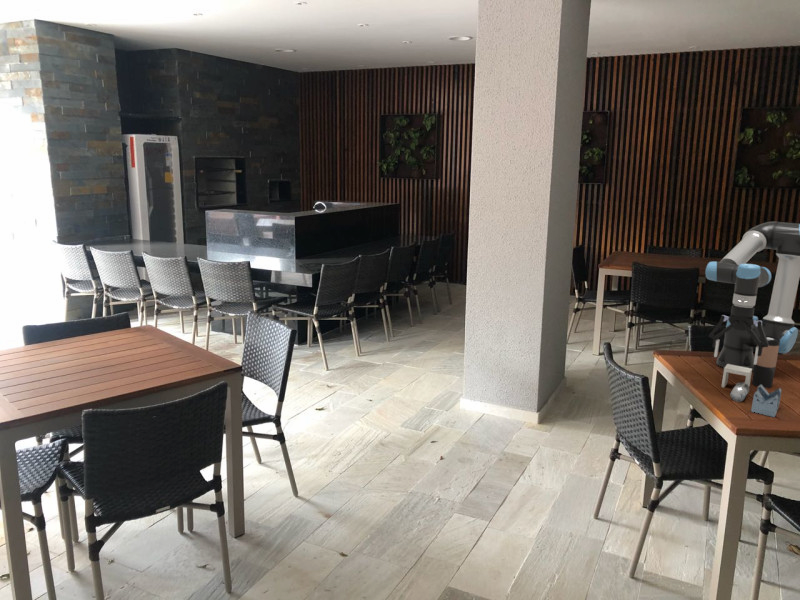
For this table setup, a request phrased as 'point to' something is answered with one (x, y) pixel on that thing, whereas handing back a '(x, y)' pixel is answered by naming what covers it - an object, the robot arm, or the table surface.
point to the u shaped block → (736, 370)
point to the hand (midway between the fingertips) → (735, 360)
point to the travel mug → (766, 363)
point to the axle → (739, 391)
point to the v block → (766, 401)
